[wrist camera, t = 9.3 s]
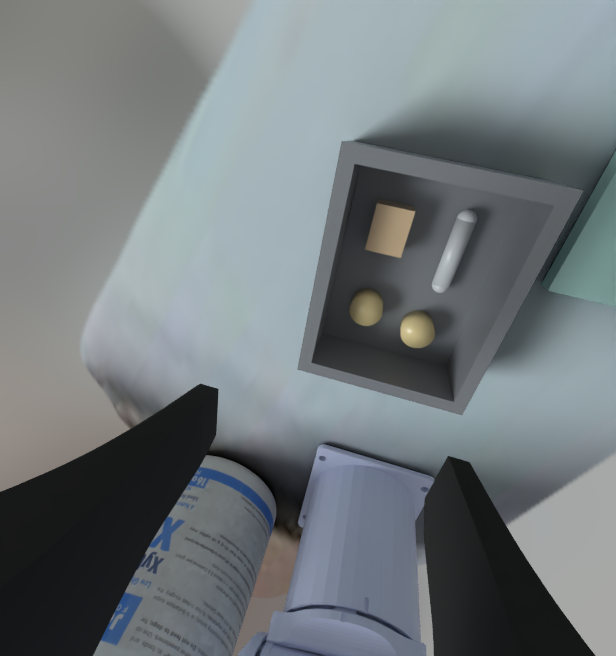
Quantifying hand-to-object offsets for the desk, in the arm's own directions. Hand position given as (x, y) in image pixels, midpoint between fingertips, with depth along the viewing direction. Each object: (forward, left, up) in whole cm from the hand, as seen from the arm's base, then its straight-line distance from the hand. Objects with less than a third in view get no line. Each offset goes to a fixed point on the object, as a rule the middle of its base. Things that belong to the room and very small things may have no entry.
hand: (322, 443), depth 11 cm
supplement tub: (-19, +6, -10) cm, 22 cm away
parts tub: (+3, -2, -9) cm, 10 cm away
